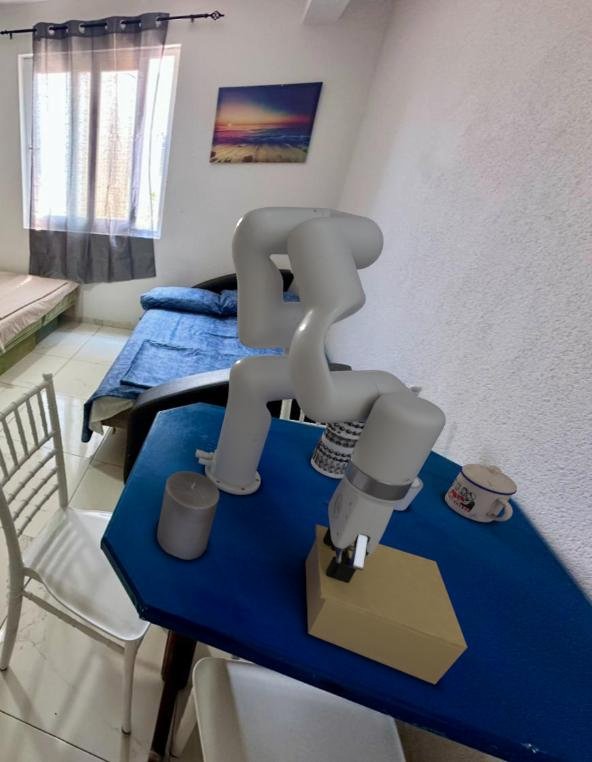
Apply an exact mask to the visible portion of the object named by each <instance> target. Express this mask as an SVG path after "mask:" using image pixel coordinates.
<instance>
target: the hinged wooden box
mask: <svg viewBox="0 0 592 762" xmlns="http://www.w3.org/2000/svg"><path fill="white" fill-rule="evenodd" d="M305 581H306V586H305V587H306V609H307V613H306V614H307V634H309V635H311V636H313V637H315V638H318V639H321V640H322V641H325V642H328V643H331V644H333V645H336V646H338V647H341V648H343V649H346V650H348V651H351V652H352V653H355V654H358V655H360V656H363V657H366V658H368V659H370V660H373V661H376V662H378V663H380V664H382V665H385V666H388V667H390V668H393V669H396V670H398V671H400V672H402V673H405V674H407V675H410V676H413V677H415V678H418V679H420V680H422V681H425V682H428V683H430V684H433V685H436V684H437V683H438V681H440V679H442V678H443V676H444V675H445V674H446V673H447V672H448V670H449V669H450V668H451V667H452V666H453V665H454V663H455V662H456V661H457V660H458V659H459V657H460V656H461V655H463V653H464V652H465V650H462V649H459V648H456V647H454V646H451V645H448V644H445V643H443V642H440V641H437V640H435V639H432V638H429V637H427V636H424V635H421V634H418V633H416V632H413V631H410V630H408V629H405V628H402V627H399V626H397V625H394V624H391V623H389V622H386V621H383V620H381V619H378V618H375V617H372V616H370V615H367V614H364V613H362V612H359V611H356V610H353V609H351V608H348V607H345V606H343V605H340V604H337V603H335V602H332V601H329V600H326V599H324V598H321V597H320V589H319V574H318V559H317V544H316V539H314V542H313V545H312V546H311V548H310V551H309V553H308V555H307V557H306V559H305Z"/></svg>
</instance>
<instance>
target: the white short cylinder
mask: <svg viewBox="0 0 592 762" xmlns="http://www.w3.org/2000/svg"><path fill="white" fill-rule="evenodd" d="M423 487H424V483H423V481H422V480H421V479H420V477H419V476H417V477H416V478H415V480H414V482H413V484H412V486H411V487H410V489H409V491H408V493H407V494H406V496H405V498H404V500H403V501H401V502H399V503H395V507H394V509H393V510H395V511H405V510H407V508H408V507H409V505H410V504H411V503H412V502H413V500H415V498H416V496H417V495H418V494H419V492H421V490H422V488H423Z"/></svg>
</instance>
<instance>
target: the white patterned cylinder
mask: <svg viewBox="0 0 592 762" xmlns="http://www.w3.org/2000/svg"><path fill="white" fill-rule="evenodd" d="M364 425H365V422H358V421H354V422H342V423H325V426H326V427H325V430H324V431H323V433H322V435H321V436H320V437H319V438H318V442H317V445H316V447H315V448H314V451H313V453H312V457H311V460H310V464H311V466H312V467H313V468H314V470H316V471H317V472H319V473H320V474H322V475H323V476H326V477H329V478H333V479H342V478H343V473H344V470H345V468H346V466H347V464H348V462H349V459H350V457H351V455H352V452H353V450H354V448H355V446H356V443H357V441H358V439H359V437H360V434H361V432H362V430H363V428H364Z"/></svg>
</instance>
